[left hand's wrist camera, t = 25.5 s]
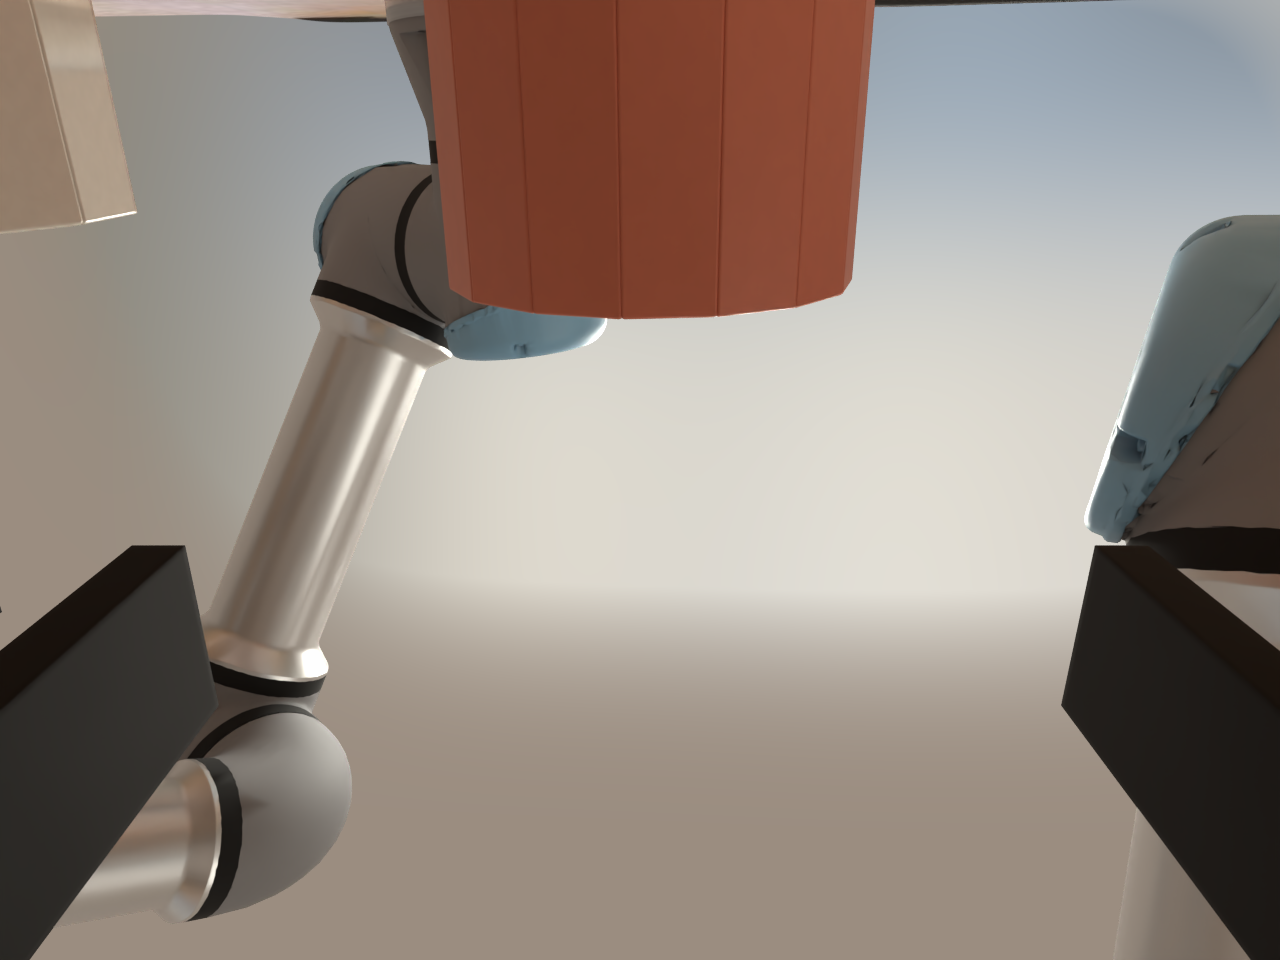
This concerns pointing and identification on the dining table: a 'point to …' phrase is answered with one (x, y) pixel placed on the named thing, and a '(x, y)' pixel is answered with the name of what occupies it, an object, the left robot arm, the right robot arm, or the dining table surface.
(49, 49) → the tub
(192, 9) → the dining table surface
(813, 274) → the terracotta flower pot
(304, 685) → the right robot arm
